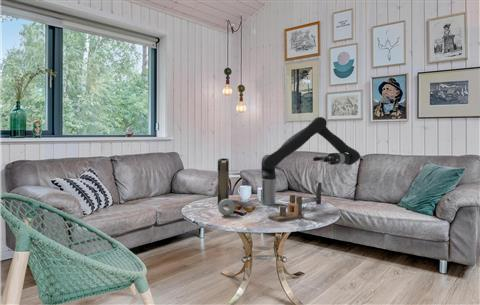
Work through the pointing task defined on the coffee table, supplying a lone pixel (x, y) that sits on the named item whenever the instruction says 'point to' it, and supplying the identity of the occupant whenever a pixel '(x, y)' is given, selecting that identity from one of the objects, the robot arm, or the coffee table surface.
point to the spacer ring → (296, 208)
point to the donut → (223, 203)
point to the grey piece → (318, 195)
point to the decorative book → (223, 179)
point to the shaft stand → (286, 216)
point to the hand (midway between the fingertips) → (318, 159)
